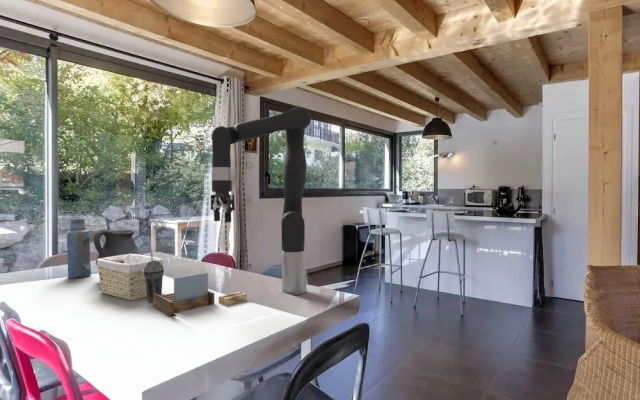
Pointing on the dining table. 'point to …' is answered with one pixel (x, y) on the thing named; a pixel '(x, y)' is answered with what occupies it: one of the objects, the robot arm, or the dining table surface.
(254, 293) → the dining table surface
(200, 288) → the plate
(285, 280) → the robot arm
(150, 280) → the beverage cup
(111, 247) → the pitcher
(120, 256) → the storage basket
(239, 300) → the plate stand
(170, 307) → the rack
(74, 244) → the bottle
